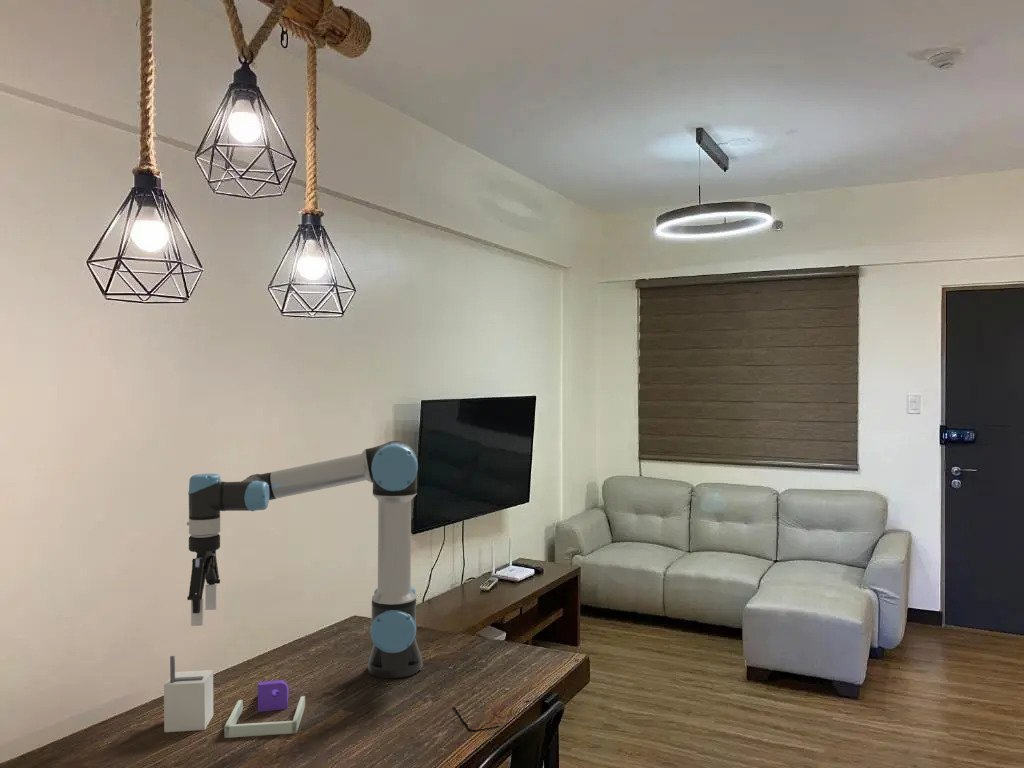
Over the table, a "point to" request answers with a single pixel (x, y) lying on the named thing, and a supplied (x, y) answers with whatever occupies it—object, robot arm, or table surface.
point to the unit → (188, 700)
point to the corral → (262, 724)
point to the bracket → (272, 695)
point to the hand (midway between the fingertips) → (204, 617)
